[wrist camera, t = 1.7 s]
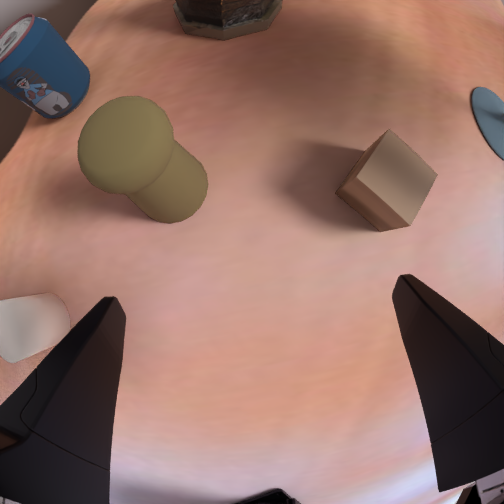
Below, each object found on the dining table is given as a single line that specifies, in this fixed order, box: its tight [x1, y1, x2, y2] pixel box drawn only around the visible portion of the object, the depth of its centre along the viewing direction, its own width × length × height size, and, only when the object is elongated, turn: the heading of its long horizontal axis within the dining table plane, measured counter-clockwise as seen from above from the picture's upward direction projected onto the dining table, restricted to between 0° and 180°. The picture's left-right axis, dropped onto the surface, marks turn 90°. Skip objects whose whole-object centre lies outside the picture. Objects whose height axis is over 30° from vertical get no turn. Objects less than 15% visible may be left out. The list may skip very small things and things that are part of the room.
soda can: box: [0, 14, 90, 118], centre depth 16 cm, size 7×7×12 cm
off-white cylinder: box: [0, 293, 70, 363], centre depth 18 cm, size 5×5×7 cm
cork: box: [78, 96, 208, 223], centre depth 16 cm, size 6×6×11 cm
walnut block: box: [335, 129, 438, 232], centre depth 19 cm, size 5×5×5 cm
